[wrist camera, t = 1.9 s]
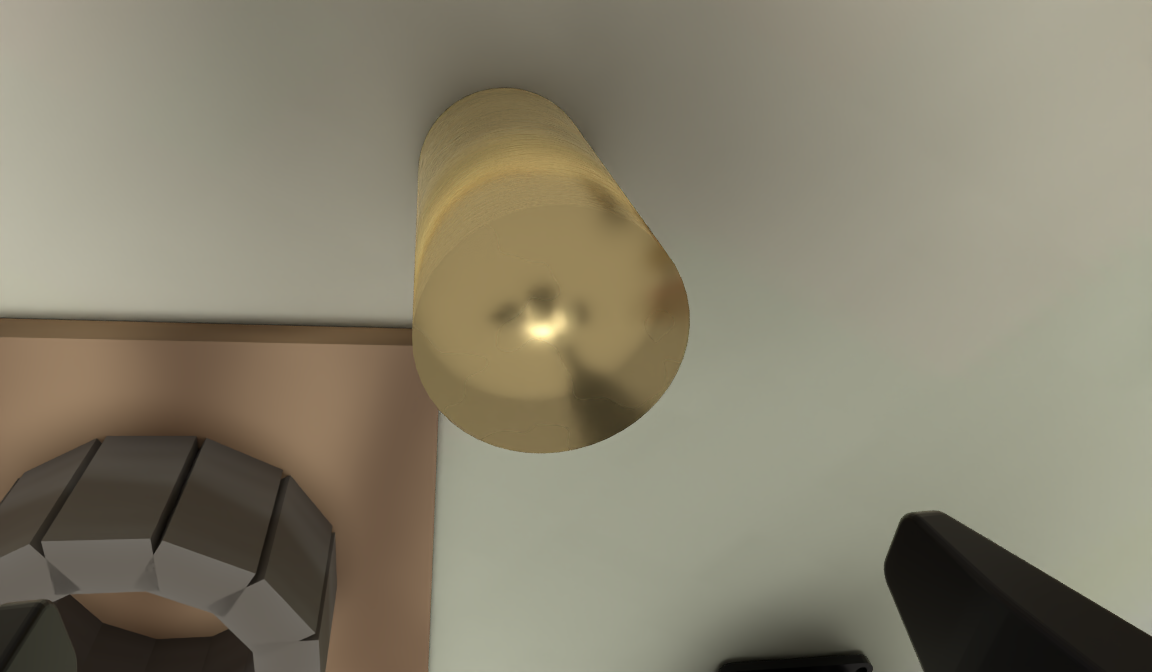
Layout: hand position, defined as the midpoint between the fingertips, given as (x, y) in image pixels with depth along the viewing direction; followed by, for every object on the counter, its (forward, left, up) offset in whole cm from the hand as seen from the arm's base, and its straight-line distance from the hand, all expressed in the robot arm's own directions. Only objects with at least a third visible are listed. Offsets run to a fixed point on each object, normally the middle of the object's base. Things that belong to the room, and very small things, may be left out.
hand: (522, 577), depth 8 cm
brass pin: (-1, 0, -14) cm, 14 cm away
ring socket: (+8, +12, -14) cm, 19 cm away
